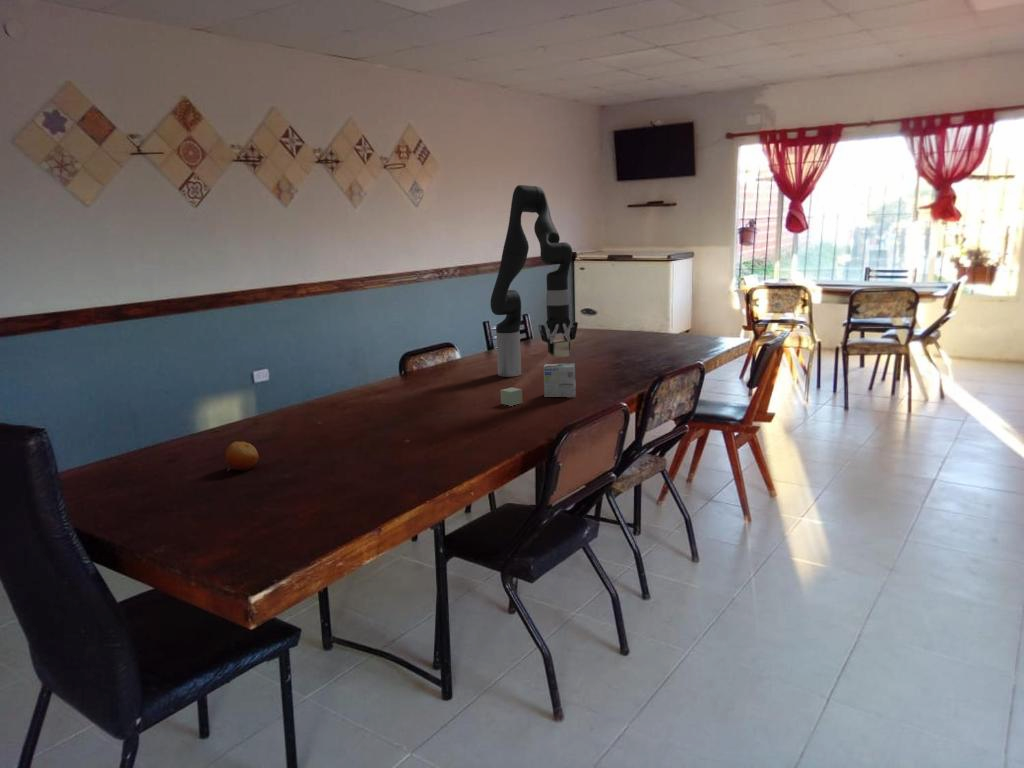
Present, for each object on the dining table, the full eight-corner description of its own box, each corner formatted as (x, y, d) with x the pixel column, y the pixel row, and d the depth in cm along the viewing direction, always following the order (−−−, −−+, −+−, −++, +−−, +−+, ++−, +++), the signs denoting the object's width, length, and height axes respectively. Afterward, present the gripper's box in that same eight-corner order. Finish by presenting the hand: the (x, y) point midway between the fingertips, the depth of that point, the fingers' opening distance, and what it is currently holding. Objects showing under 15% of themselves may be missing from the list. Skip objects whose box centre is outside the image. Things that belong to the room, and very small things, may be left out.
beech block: (549, 355, 254) (549, 341, 253) (562, 354, 255) (562, 339, 254) (555, 357, 249) (555, 343, 248) (569, 356, 251) (568, 341, 250)
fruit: (226, 458, 193) (238, 433, 191) (253, 473, 193) (266, 447, 192) (213, 468, 185) (226, 442, 183) (241, 483, 185) (255, 457, 184)
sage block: (501, 404, 246) (500, 389, 245) (512, 401, 249) (511, 387, 248) (510, 407, 242) (510, 392, 241) (522, 404, 246) (521, 389, 244)
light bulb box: (575, 393, 258) (575, 362, 256) (575, 397, 251) (574, 366, 249) (545, 393, 259) (544, 363, 257) (543, 398, 252) (543, 367, 250)
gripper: (572, 300, 254) (573, 349, 258) (533, 304, 249) (535, 353, 253) (582, 302, 248) (583, 352, 251) (542, 305, 243) (544, 357, 246)
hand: (559, 353), depth 252 cm, fingers closed on beech block, 5 cm apart
